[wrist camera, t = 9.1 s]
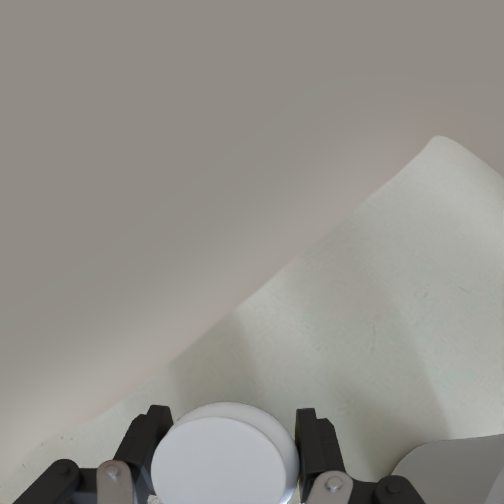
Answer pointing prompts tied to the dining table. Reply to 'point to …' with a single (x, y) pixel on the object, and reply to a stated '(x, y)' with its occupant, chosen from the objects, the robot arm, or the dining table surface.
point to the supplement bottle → (226, 458)
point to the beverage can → (457, 470)
